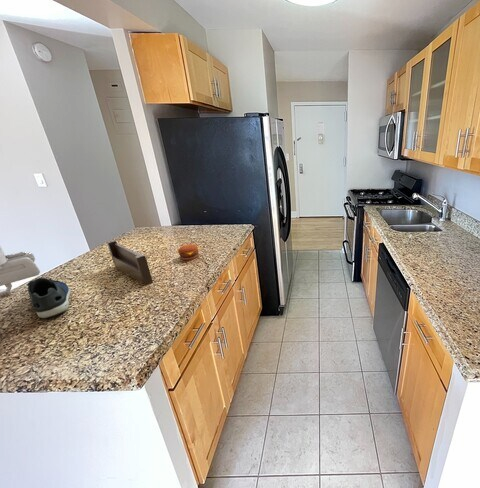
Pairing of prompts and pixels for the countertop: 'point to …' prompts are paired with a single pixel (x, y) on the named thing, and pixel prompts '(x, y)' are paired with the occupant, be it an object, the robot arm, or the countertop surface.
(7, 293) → the robot arm
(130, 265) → the dark brown channel tray
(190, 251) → the hamburger
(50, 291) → the water shoe
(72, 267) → the countertop surface
